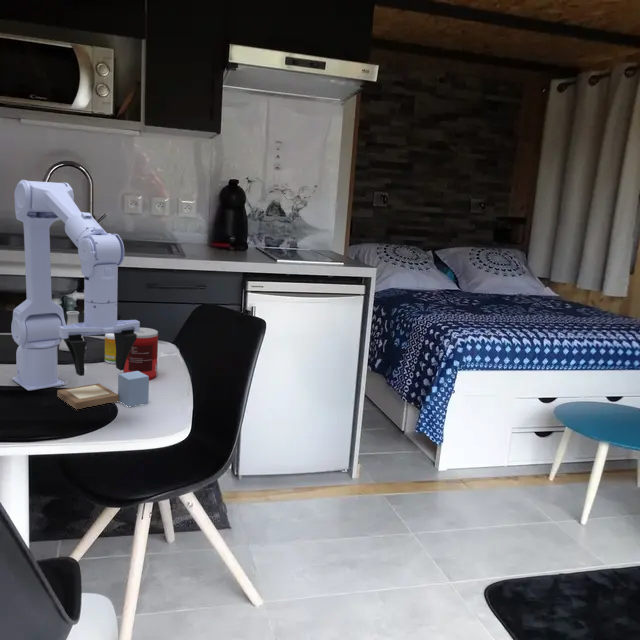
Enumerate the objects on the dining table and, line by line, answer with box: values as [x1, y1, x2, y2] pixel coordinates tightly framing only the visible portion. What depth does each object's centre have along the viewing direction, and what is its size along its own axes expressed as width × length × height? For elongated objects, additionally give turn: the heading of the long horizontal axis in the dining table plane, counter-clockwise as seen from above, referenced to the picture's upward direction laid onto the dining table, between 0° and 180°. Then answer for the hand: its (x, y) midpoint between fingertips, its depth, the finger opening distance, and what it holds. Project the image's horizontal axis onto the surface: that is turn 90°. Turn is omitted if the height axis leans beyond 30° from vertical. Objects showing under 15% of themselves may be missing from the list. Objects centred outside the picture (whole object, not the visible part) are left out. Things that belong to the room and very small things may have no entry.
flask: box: [58, 310, 88, 352], centre depth 167 cm, size 7×7×10 cm
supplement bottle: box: [104, 333, 116, 365], centre depth 159 cm, size 5×5×10 cm
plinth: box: [56, 383, 119, 411], centre depth 132 cm, size 9×9×2 cm
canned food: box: [122, 327, 159, 381], centre depth 149 cm, size 8×8×11 cm
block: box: [117, 371, 150, 408], centre depth 132 cm, size 4×4×6 cm
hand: (100, 371), depth 119 cm, fingers open, 7 cm apart
